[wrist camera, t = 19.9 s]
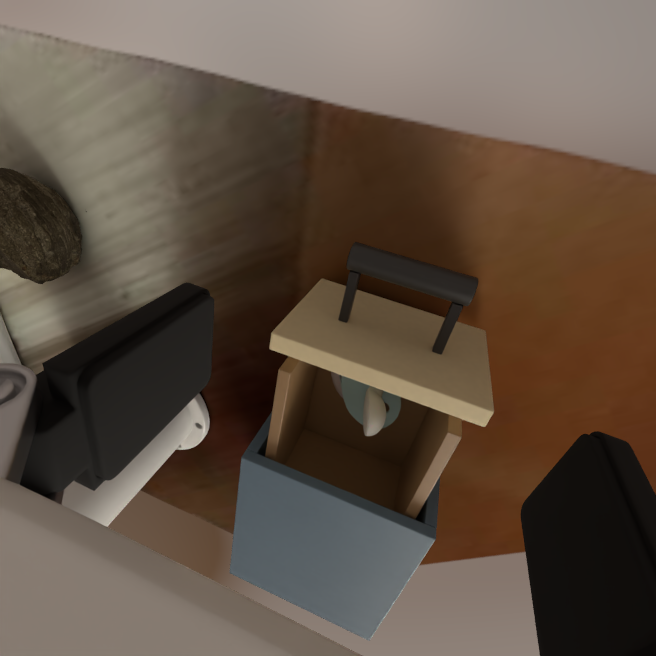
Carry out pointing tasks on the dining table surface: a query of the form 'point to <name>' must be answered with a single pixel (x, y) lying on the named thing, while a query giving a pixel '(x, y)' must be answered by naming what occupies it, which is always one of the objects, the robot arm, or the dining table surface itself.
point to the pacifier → (367, 403)
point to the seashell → (36, 229)
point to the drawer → (379, 380)
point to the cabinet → (324, 542)
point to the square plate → (7, 346)
